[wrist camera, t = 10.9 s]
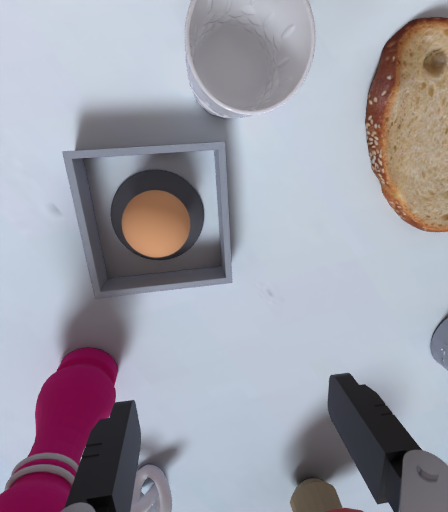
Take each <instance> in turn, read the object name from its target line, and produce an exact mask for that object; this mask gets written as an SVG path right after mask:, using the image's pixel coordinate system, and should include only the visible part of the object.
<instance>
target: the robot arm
mask: <svg viewBox="0 0 448 512" xmlns="http://www.w3.org/2000/svg"><path fill="white" fill-rule="evenodd" d="M431 353H432V356H433V358H434V359H435V360H436V361H437V362H438V363H439V364H440V365H442V366H443V367H444V368H445V369H447V370H448V318H446V319H445V320H444V321H443V322H442V323H441V324H440V326H439V327H438V328H437V330H436V332H435V334H434V335H433V338H432V341H431ZM328 411H329V414H330V417H331V420H332V422H333V424H334V425H335V427H336V429H337V431H338V433H339V435H340V436H341V438H342V440H343V442H344V444H345V446H346V448H347V449H348V451H349V453H350V455H351V457H352V459H353V460H354V462H355V464H356V466H357V468H358V470H359V472H360V473H361V475H362V477H363V479H364V481H365V483H366V484H367V486H368V488H369V490H370V492H371V494H372V495H373V497H374V499H375V501H376V503H377V504H382V503H387V502H389V504H390V506H391V508H392V509H393V512H448V466H447V465H446V464H445V463H444V462H443V461H442V460H441V459H440V458H438V457H437V456H435V455H433V454H431V453H429V452H426V451H422V449H421V448H420V447H419V446H418V445H417V443H416V442H415V441H414V439H413V438H412V437H411V436H410V434H409V433H408V432H407V431H406V429H405V428H404V427H403V426H402V424H401V423H400V422H399V420H398V419H397V418H396V417H395V415H393V414H392V412H391V410H390V409H389V408H388V407H387V406H386V405H385V403H384V401H383V400H382V399H381V398H380V396H379V395H378V394H377V393H376V392H375V391H373V390H372V389H370V388H369V387H368V386H366V385H365V384H364V385H358V383H357V382H356V380H355V379H354V378H353V376H352V375H351V374H350V373H343V374H336V375H331V376H330V378H329V392H328ZM140 445H141V431H140V425H139V420H138V414H137V409H136V404H135V401H134V400H131V401H123V402H115V403H114V405H113V407H112V411H111V414H110V418H105V419H100V420H99V421H98V422H97V424H96V425H95V426H94V428H93V429H92V430H91V432H90V434H89V437H88V440H87V443H86V448H85V449H84V452H83V455H82V459H81V461H80V464H79V467H78V470H77V472H76V475H75V478H74V481H73V484H72V487H71V490H70V493H69V496H68V499H67V502H66V504H65V507H64V509H63V510H62V511H60V512H130V511H131V504H132V498H133V491H134V485H135V478H136V472H137V465H138V459H139V452H140Z"/></svg>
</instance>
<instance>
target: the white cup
mask: <svg viewBox="0 0 448 512" xmlns="http://www.w3.org/2000/svg"><path fill="white" fill-rule="evenodd" d="M314 50H315V24H314V18H313V14H312V10H311V7H310V4H309V2H308V0H191V3H190V6H189V9H188V13H187V17H186V23H185V51H186V66H187V73H188V79H189V84H190V87H191V89H192V92H193V94H194V96H195V98H196V100H197V102H198V103H199V104H200V105H201V106H202V107H203V108H204V109H205V110H206V111H208V112H209V113H210V114H212V115H215V116H219V117H223V118H226V119H227V118H243V117H249V116H252V115H258V114H263V113H266V112H270V111H272V110H274V109H276V108H278V107H280V106H281V105H283V104H284V103H286V102H287V101H288V100H289V99H290V98H291V97H292V96H293V95H294V94H295V93H296V92H297V91H298V89H299V88H300V87H301V85H302V84H303V82H304V80H305V78H306V76H307V74H308V72H309V69H310V67H311V64H312V60H313V56H314Z"/></svg>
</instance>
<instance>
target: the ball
mask: <svg viewBox="0 0 448 512" xmlns="http://www.w3.org/2000/svg"><path fill="white" fill-rule="evenodd" d="M122 230H123V234H124V236H125V239H126V240H127V242H128V243H129V245H130V246H131V247H132V248H133V249H134V250H136V251H137V252H139V253H140V254H143V255H145V256H148V257H155V258H157V257H165V256H169V255H171V254H173V253H175V252H176V251H178V250H179V249H180V248H181V247H182V246H183V245H184V243H185V242H186V240H187V238H188V235H189V232H190V217H189V214H188V211H187V209H186V207H185V206H184V204H183V203H182V202H181V201H180V200H179V199H178V198H177V197H175V196H174V195H172V194H170V193H168V192H165V191H160V190H150V191H146V192H143V193H141V194H139V195H137V196H135V197H134V198H133V199H132V200H131V201H130V202H129V203H128V205H127V206H126V208H125V210H124V213H123V216H122Z"/></svg>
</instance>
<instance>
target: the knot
mask: <svg viewBox="0 0 448 512" xmlns="http://www.w3.org/2000/svg"><path fill="white" fill-rule="evenodd" d="M147 478H151V479H152V480H153V481H154V483H155V484H153V485H152V487H151V488H150V489H149V490H148V491H147V493H146V494H145V495H144V494H143V493H142V492H141V489H142V486H143V483H144V481H145V480H146V479H147ZM152 504H153V506H152ZM171 510H172V497H171V491H170V487H169V484H168V481H167V479H166V477H165V475H164V473H163V472H162V471H161V470H160V469H159V468H158V467H157V466H155V465H145V466H143V467H142V468H141V469H140V470H139V471H138V472H137V474H136V478H135V485H134V491H133V498H132V504H131V511H130V512H171Z"/></svg>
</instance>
